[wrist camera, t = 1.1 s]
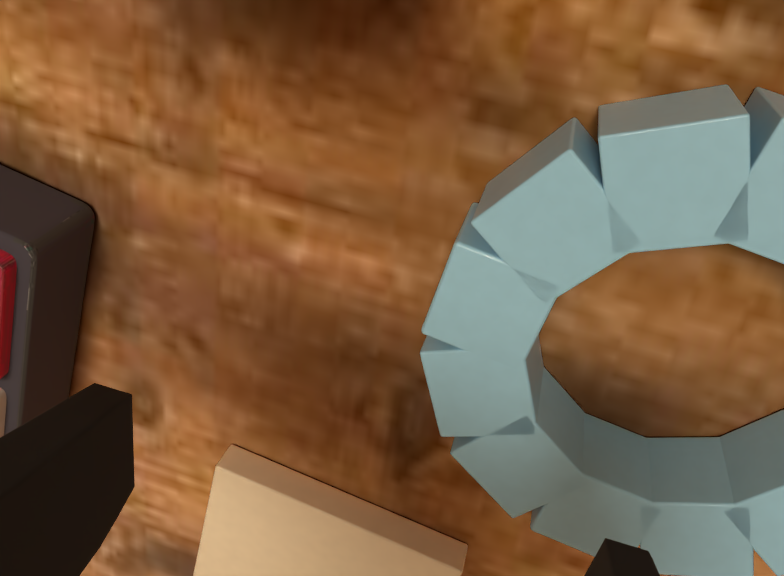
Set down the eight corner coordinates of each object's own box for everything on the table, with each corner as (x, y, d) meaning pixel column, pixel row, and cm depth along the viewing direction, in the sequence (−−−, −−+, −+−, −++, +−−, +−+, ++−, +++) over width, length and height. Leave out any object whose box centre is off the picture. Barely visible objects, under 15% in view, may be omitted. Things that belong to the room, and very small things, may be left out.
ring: (1108, 210, 14) (1203, 266, 12) (770, 562, 20) (791, 641, 18) (545, 10, 15) (536, 27, 13) (393, 406, 21) (369, 463, 19)
